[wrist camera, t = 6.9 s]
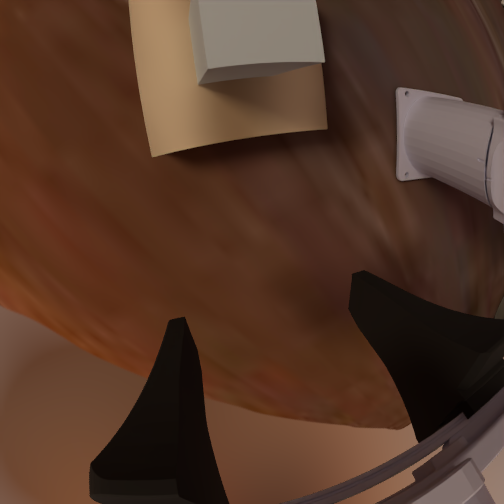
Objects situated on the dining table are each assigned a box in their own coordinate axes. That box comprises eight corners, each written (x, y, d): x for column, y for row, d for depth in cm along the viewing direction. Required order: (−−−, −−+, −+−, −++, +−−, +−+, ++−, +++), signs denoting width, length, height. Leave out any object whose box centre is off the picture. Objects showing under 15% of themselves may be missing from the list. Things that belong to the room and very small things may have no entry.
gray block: (263, 12, 11) (309, -29, 6) (272, 76, 13) (325, 62, 8) (188, 18, 10) (194, -30, 5) (197, 84, 12) (207, 68, 7)
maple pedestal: (289, -6, 12) (307, -21, 10) (306, 124, 18) (327, 129, 15) (135, 9, 11) (128, -7, 9) (156, 149, 16) (152, 157, 14)
